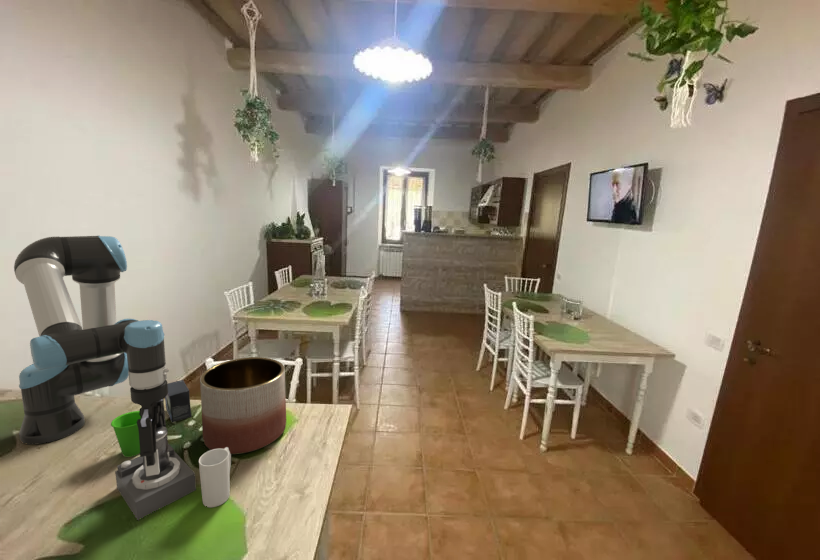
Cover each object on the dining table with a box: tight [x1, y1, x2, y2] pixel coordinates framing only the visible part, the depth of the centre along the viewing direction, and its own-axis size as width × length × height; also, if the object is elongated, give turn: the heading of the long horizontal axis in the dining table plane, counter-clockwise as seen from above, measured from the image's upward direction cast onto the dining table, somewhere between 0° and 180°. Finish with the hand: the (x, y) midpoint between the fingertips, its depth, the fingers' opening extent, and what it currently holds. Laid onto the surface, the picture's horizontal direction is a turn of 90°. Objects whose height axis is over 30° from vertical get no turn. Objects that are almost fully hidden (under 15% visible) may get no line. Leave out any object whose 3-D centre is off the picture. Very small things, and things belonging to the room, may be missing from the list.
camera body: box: [114, 443, 197, 521], centre depth 95 cm, size 16×13×7 cm
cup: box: [110, 410, 141, 458], centre depth 109 cm, size 9×9×11 cm
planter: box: [199, 356, 287, 455], centre depth 120 cm, size 25×25×22 cm
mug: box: [198, 447, 232, 508], centre depth 95 cm, size 10×7×12 cm, turn 174°
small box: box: [164, 379, 192, 423], centre depth 130 cm, size 11×6×10 cm, turn 43°
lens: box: [142, 426, 170, 474], centre depth 93 cm, size 6×6×10 cm
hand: (156, 466), depth 94 cm, fingers closed on lens, 5 cm apart
